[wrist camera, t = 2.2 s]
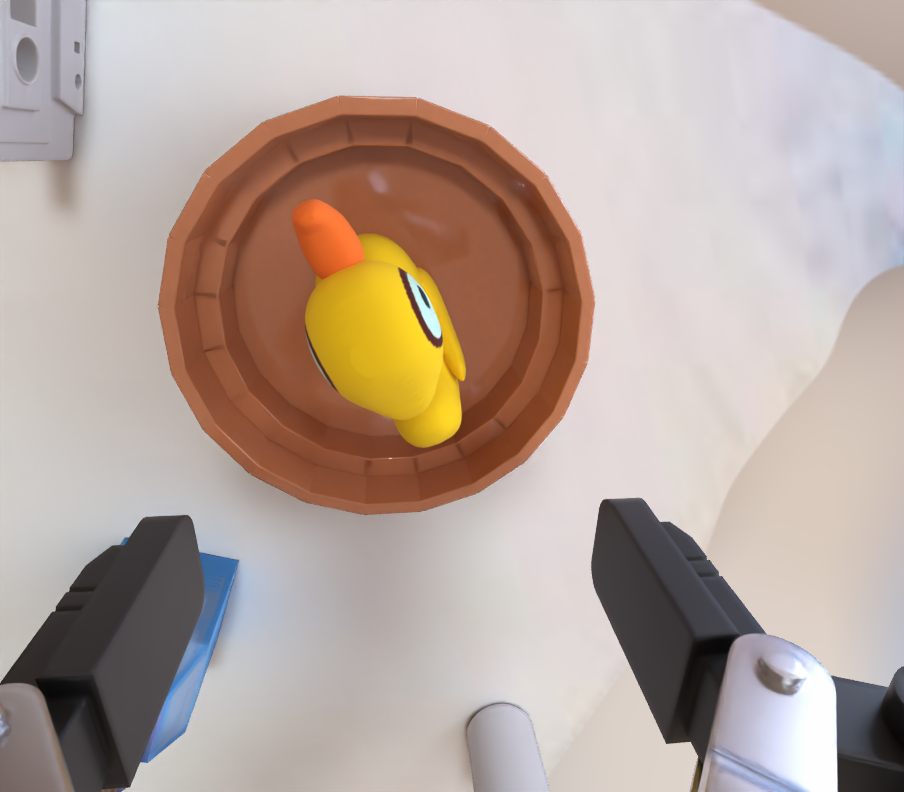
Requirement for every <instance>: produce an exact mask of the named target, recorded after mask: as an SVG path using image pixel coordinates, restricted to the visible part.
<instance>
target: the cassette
mask: <svg viewBox="0 0 904 792" xmlns="http://www.w3.org/2000/svg"><path fill="white" fill-rule="evenodd" d="M85 21H86V0H0V161H44V160H69V159H70V158H71V157H72V154H73V126H74V117H75V116H76V115H83V93H84V57H85Z"/></svg>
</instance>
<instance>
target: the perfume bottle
mask: <svg viewBox="0 0 904 792" xmlns="http://www.w3.org/2000/svg"><path fill="white" fill-rule="evenodd" d="M128 539H129V538H125V539H124V540H123V542H122V543H121V545H125V543H126V542H127V540H128ZM199 555H200V560H201V565H202V570H203V575H204V582H205V594H204V602H203V607H202V611H201V614H200V617H199V619H198V621H197V624H196V626H195V629H194V631H193V634H192V636H191V639H190V641H189V643H188V646H187V648H186V651H185V653H184V656H183V658H182V661H181V663H180V666H179V668H178V670H177V673H176V675H175V678H174V680H173V683H172V685H171V688H170V690H169V692H168V695H167V697H166V700H165V702H164V705H163V707H162V710H161V712H160V715H159V717H158V719H157V722H156V724H155V727H154V729H153V732H152V734H151V737H150V739H149V741H148V744H147V746H146V749H145V751H144V754H143V756H142V759H141V761H140V762H145V763H148V762H149V761H151V760H152V759H153V758H154V757H155V756H157V755H158V754H159V753H160V752H162V751H163V750H164V749H165V748H166V747H168V746H169V745H170V744H171V743H173V742H174V741H175V740H176V739H177V738H179V737H180V736H181V735H182V734H184V733H185V731H186V728H187V725H188V722H189V719H190V716H191V713H192V711H193V708H194V705H195V702H196V699H197V696H198V693H199V690H200V687H201V684H202V681H203V679H204V676H205V673H206V670H207V667H208V664H209V661H210V658H211V655H212V652H213V650H214V647H215V644H216V641H217V638H218V634H219V630H220V627H221V623H222V620H223V616H224V612H225V609H226V605H227V602H228V598H229V594H230V591H231V587H232V584H233V580H234V576H235V573H236V569H237V565H238V562H239V561H238V560H233V559H228V558H223V557H218V556H213V555H209V554H204V553H199ZM124 789H125V788H116V789H104V790H101V791H100V792H121V791H123V790H124Z"/></svg>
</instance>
